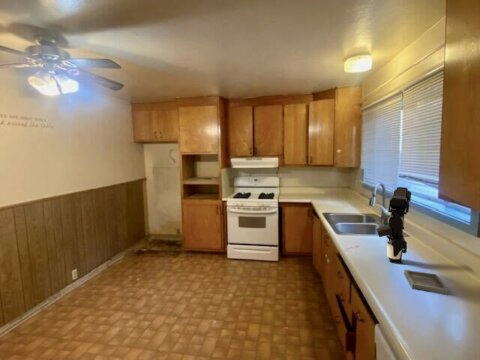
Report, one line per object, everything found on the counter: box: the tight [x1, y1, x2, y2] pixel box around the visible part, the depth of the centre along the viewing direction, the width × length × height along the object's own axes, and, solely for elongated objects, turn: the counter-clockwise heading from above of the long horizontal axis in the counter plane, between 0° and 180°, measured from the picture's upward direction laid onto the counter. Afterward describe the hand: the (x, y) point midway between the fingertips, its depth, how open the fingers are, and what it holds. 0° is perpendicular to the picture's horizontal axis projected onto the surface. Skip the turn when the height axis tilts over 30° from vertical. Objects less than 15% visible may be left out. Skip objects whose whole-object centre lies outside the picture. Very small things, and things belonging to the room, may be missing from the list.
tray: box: [403, 269, 450, 295], centre depth 132 cm, size 16×14×2 cm
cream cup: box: [386, 240, 402, 259], centre depth 136 cm, size 7×7×7 cm
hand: (393, 253), depth 136 cm, fingers closed on cream cup, 6 cm apart
